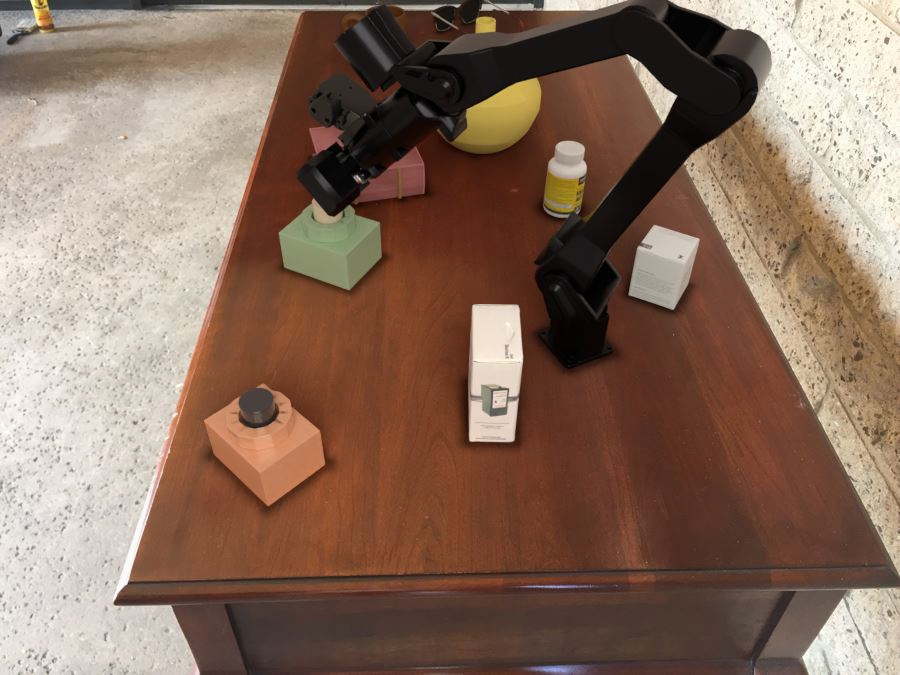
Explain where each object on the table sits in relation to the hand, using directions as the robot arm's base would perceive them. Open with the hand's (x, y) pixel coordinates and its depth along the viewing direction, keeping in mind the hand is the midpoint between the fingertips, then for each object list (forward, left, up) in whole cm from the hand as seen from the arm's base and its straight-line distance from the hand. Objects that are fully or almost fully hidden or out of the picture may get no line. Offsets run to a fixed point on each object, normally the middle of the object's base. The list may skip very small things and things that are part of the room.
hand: (325, 185), depth 94 cm
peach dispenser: (-28, +17, -12) cm, 35 cm away
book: (+18, -12, -12) cm, 25 cm away
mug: (+56, -29, -12) cm, 64 cm away
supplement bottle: (-2, -34, -12) cm, 36 cm away
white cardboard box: (-23, -35, -12) cm, 43 cm away
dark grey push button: (-28, +17, -5) cm, 33 cm away
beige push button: (0, 0, -4) cm, 4 cm away
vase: (+21, -33, -12) cm, 41 cm away
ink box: (-32, -6, -12) cm, 35 cm away
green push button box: (0, 0, -12) cm, 12 cm away
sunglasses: (+58, -53, -12) cm, 79 cm away
